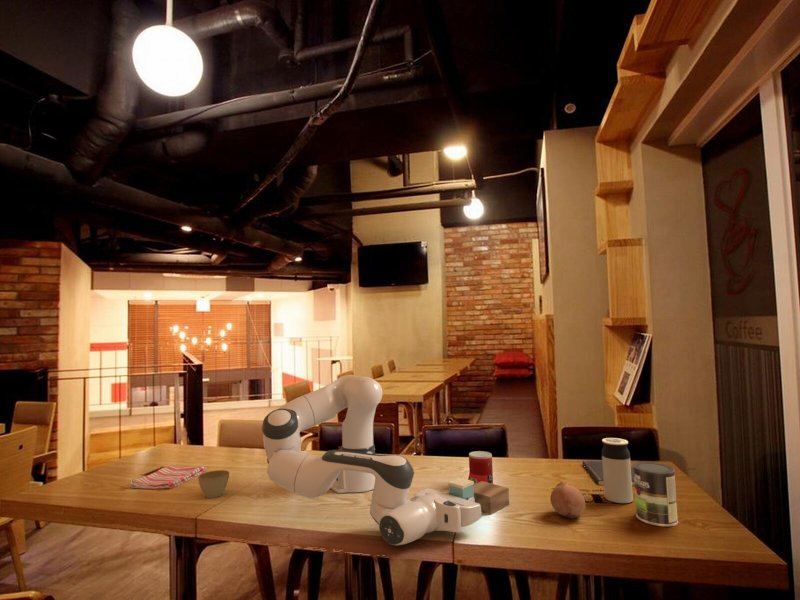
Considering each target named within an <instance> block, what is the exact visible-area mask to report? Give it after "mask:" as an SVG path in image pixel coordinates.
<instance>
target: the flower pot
mask: <svg viewBox="0 0 800 600" xmlns="http://www.w3.org/2000/svg"><path fill="white" fill-rule="evenodd" d="M197 478H198V482H199V483H198V484H199V486H200V490H201V492H202V493H203V495H204V496H205V498H207V499H214V498H218V497H220V496H222V495H223V493H224V492H225V490H226V487H227V486H228V485H227V484H228V482H229V479H230V471H229V470H224V469H222V470H221V469H220V470H210V471H206V472H202V473H201V474H199V475H197Z"/></svg>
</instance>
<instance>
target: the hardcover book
mask: <svg viewBox="0 0 800 600" xmlns="http://www.w3.org/2000/svg"><path fill="white" fill-rule="evenodd" d="M581 464H582V466H583V465H584V466H585V467H584V466H583V467H584V469H585V468H586V469H587V470H586V469H585V470H586V471H587V472H588V474H589V475H590V477H592V479H593V481H595V483H596V484H597V485H598V486H600V485H601V486H604V479H603V463H602V460H583V461H582V463H581ZM631 479H632V487H633V486H634V487H635V484H634V469H633V466H631Z"/></svg>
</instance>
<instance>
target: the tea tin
mask: <svg viewBox="0 0 800 600" xmlns="http://www.w3.org/2000/svg"><path fill="white" fill-rule="evenodd" d="M473 484H474V481H470V479H466V478H462V477H457V478H455V479H452V480H450V481H448V487H449V488H448V489H449V491H448V492H449V495H453V496H456V497H459V498H462V499H466V500H467V497H469V496H471V497H474V487H473Z"/></svg>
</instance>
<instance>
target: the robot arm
mask: <svg viewBox="0 0 800 600" xmlns="http://www.w3.org/2000/svg"><path fill="white" fill-rule="evenodd" d="M382 398H383V388H382V385H381V384H380V383H379V382H378V381H377V380H375V379H373V378H372V377H369V376H364V375H357V374H346V375H341V376H339V377H338V378H337V379H336V380H334V381H332V382H329V384H326V385H325V386H323V387H321V388H319V389H316V390H313V391H311V392H308V393H306V394H303V395H301V396H299V397H296V398H294V399H292V400H290V401H288V402H286V403H285V404H283V405H281V406H279V407H278V408H277V409H274V410H272V411H270V412H269V413H268V414H267V415H266V416H265V417H264V419H263V421H262V426H261V427H262V428H261V431H262V440H263V441H262V443H263V447H264V448H263V449H264V451H265V455H266V462H267V468H266V470H267V471H266V474H267V477H268V478H269V480H270V481H271V482H273V483H274V484H275V485H277V486H279V487H280V488H282V489H284V490H286V491H289V492H292V493H293V494H296V495H298V496H302V497H305V498H310V499H316V498H320V497H321V496H323V495H325V494H326V493H327V492H328V491H329V490H330V489H331V490H333V491H334V492H335V493H337V494H342V493H363V492H368V491H372V495H371V500H370V508H369V513H370V516H371V517H372V519H373V520H374V522H376V524H377V525H378V527H379V532H380V535H381V537H382V539H383V540H385V542H386V543H388V544H389V545H391V546H402V545H407V544H409V543H412V542H414V541H417V540H418V539H420V538H422V537H423V536H424V535H425V534H430V533H432V532H434V531H435V532H442V531H444V532H445V531H446V532H451V533H452V532H453V533H459V532H460V531H461V529H462V528H465V527H468V526H471V525H473V524H475V523H476V522H477V521H479V520H481V518H482V512H481V506H480V504H479V503H476V502H475V498H474V497H471V496H469V497H467V500H466V499H462V498H459V497H456V496H453V495H449V491H446V492H444V491H443V492H442V491H439V490H436V489H433V488H430V487H429V488H427V487H426V488H423V489H420V490H419V491H417V492H415V494H414V496H413V497H411V498H409V495H410V490H411V486H412V483H413V479H414V476H415V475H414V474H415V470H414V468H413V466H412V464H411V463H410V461H409V460H408V459H407V458H406V457H404V456H402V455H399V454H377V453H376V451H375V450H376V448H375V446H376V445H375V443H374V418H375V414H376V409H377V407H378V405H379V403H380V402H381V401H382ZM345 409H347V411H346V415H345V419H344V420H343V422H342V424H341V436H342V437H341V439H342V441H341V442H342V445H341V446H338V449H332V450H331V449H330V450H328V451H325V453H324V454H322V455H314V454H311V453H308V452H304V451H302V437H301V434H300V433H301V432H303V431H305V430H309V429H311V428H313V427H316V426H318V425H320V424H322V423H325V422H328V421H330V420H332V419H334V418H336V415H337V414H339V413H340V412H341V411H343V410H345Z"/></svg>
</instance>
